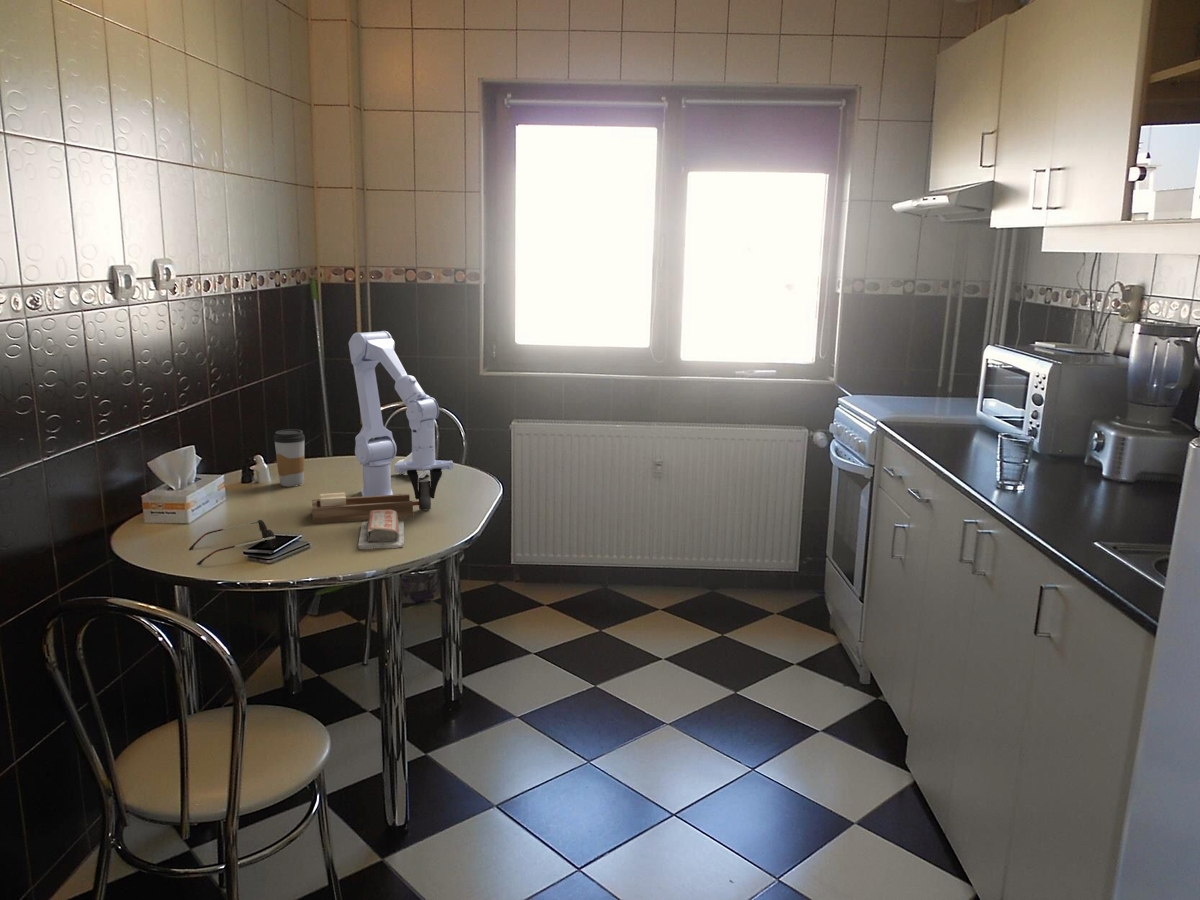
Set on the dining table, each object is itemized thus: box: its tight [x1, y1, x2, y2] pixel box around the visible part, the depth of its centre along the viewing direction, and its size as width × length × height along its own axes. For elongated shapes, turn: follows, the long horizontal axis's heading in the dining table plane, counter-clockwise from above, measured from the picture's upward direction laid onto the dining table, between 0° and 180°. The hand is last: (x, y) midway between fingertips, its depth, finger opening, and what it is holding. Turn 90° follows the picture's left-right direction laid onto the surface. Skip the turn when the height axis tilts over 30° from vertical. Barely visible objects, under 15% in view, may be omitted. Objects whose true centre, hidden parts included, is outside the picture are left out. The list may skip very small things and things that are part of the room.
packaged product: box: [357, 509, 405, 550], centre depth 209 cm, size 18×5×10 cm
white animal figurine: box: [395, 452, 430, 479], centre depth 264 cm, size 6×8×12 cm
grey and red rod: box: [319, 479, 432, 511], centre depth 226 cm, size 5×27×7 cm, turn 108°
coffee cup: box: [273, 428, 306, 487], centre depth 251 cm, size 8×8×15 cm
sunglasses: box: [188, 519, 276, 565], centre depth 197 cm, size 14×16×5 cm
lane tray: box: [311, 493, 414, 524], centre depth 226 cm, size 10×24×4 cm, turn 108°
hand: (424, 497), depth 230 cm, fingers open, 3 cm apart
